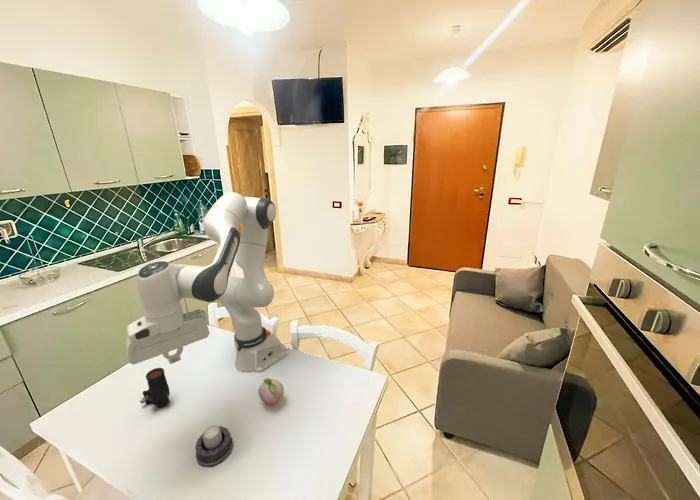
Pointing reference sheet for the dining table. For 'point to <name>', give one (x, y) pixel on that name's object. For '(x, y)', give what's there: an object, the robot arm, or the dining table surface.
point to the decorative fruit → (271, 391)
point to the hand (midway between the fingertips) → (175, 361)
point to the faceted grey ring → (217, 454)
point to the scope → (156, 389)
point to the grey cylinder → (212, 438)
